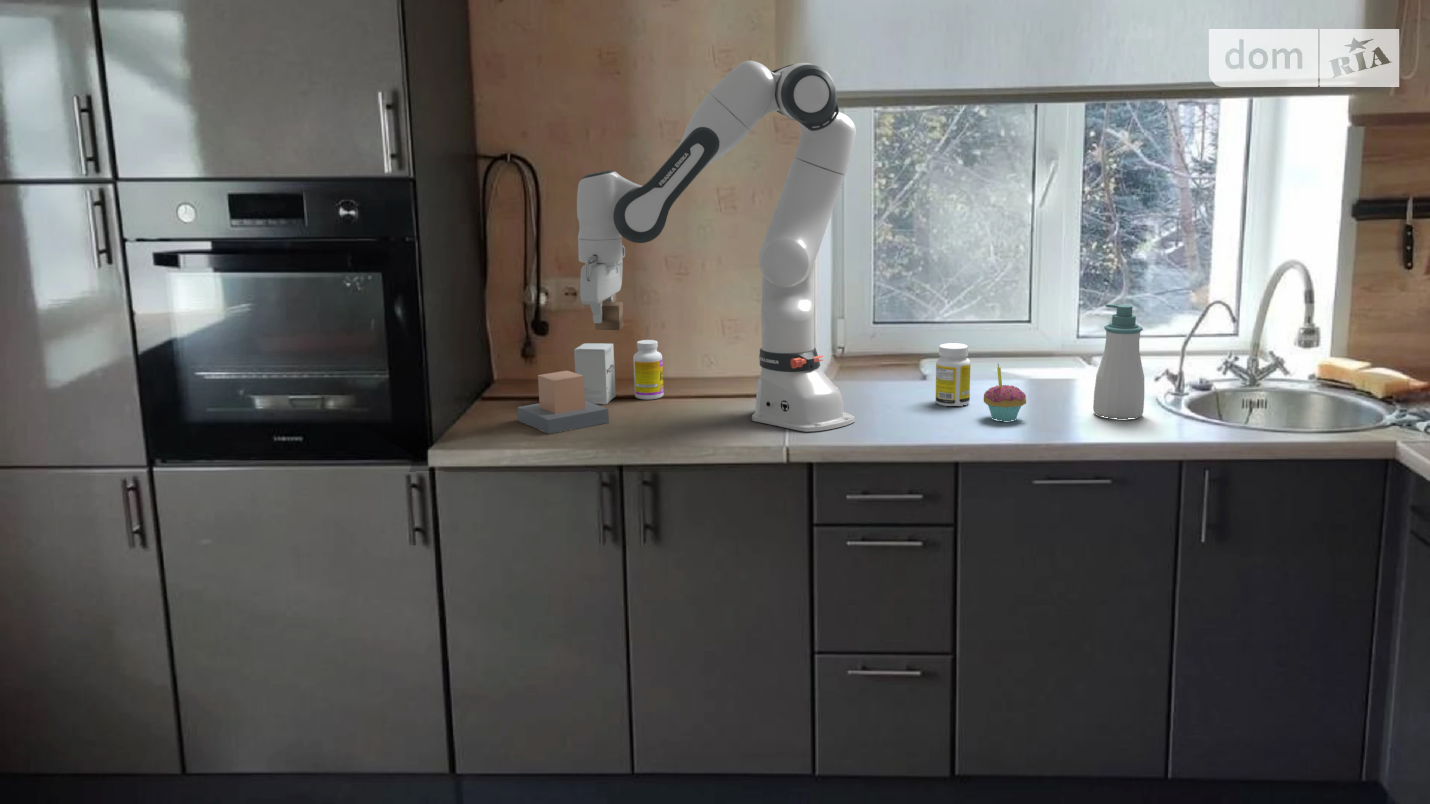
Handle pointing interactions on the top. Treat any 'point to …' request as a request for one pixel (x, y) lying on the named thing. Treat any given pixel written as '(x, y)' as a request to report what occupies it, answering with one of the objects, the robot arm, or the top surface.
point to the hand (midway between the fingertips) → (602, 319)
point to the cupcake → (1004, 400)
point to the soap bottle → (1120, 369)
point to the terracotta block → (561, 391)
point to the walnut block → (611, 316)
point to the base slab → (562, 417)
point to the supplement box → (596, 371)
